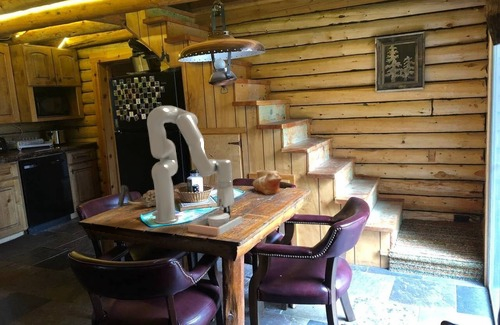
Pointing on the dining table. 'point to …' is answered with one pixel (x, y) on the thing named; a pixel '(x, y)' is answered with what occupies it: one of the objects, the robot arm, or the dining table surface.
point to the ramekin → (218, 219)
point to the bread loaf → (267, 182)
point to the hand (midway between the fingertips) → (227, 218)
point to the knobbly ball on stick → (147, 199)
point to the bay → (200, 228)
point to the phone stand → (122, 196)
